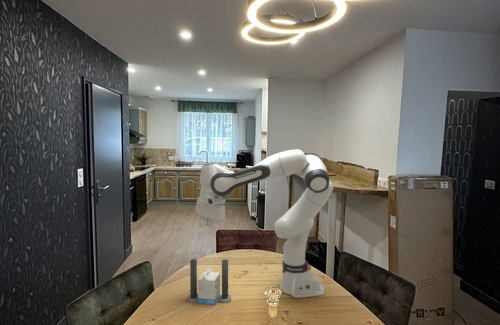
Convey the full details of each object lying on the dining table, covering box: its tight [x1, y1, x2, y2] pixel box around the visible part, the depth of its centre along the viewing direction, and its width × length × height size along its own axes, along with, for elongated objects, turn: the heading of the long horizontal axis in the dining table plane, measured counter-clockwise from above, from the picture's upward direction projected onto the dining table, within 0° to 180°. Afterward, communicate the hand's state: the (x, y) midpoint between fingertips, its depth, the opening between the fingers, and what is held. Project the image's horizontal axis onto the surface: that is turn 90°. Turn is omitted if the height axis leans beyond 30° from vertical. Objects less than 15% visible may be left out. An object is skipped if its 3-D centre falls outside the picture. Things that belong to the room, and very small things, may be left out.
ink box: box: [197, 268, 221, 306], centre depth 130 cm, size 9×8×13 cm
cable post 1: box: [186, 258, 198, 304], centre depth 130 cm, size 6×6×19 cm
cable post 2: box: [218, 258, 232, 304], centre depth 130 cm, size 6×6×19 cm
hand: (209, 226), depth 129 cm, fingers closed
